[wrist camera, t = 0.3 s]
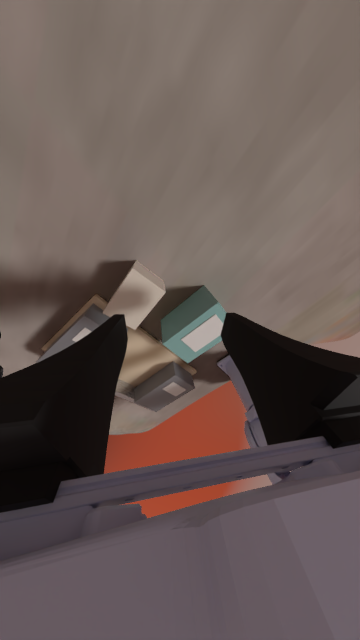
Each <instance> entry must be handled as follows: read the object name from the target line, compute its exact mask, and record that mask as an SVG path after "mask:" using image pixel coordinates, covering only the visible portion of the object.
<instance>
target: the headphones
mask: <svg viewBox="0 0 360 640" xmlns="http://www.w3.org/2000/svg"><path fill="white" fill-rule="evenodd" d="M0 338H1V333H0ZM2 375H3V368H2V367H1V366H0V378H2Z"/></svg>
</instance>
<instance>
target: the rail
mask: <svg viewBox="0 0 360 640" xmlns="http://www.w3.org/2000/svg"><path fill="white" fill-rule="evenodd" d="M49 347H50V346H49ZM49 347H48V348H49ZM48 348H47V349H48ZM47 349H46V350H47ZM46 350H45V351H46ZM43 354H44V353H43ZM43 354H42V355H43ZM42 355H41V356H42ZM41 356H40V357H41ZM40 357H39V358H40ZM37 361H38V360H37ZM37 361H36V363H38V362H37ZM135 390H136V387H135V386H133V385H131V384H129V383H127V382H124V381H122V380H120V379H118V382H117V386H116V391H115V396H118V397H120V398H123V399H125V400H127V401H130V402H132V403H134V399H135ZM135 404H136V403H135ZM137 405H139V404H137ZM139 406H141V405H139ZM142 407H143V406H142ZM144 408H146V407H144ZM147 409H148V408H147ZM149 410H151V409H149ZM151 411H153V410H151Z"/></svg>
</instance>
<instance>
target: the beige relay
mask: <svg viewBox="0 0 360 640" xmlns="http://www.w3.org/2000/svg"><path fill="white" fill-rule="evenodd" d="M165 293H166V290H165V285H164V281H163V280H162V279H160V278H159V277H158V276H156V275H155V274H154V273H152V272H151V271H150V270H149V269H147V268H146V267H145V266H143V265H142V264H141V263H139V262H138V261H137V260H136V261H135V263H134V264H133V266H132V267H131V269H130V270H129V272H128V273H127V275H126V276H125V278H124V279H123V281H122V282H121V284H120V285H119V287H118V288H117V290H116V291H115V293H114V294H113V296H112V297H111V299H110V301H109V302H108V304H107V306H106V307H105V309H104V311H103V314H105V315H107V316H109V317H112V316H113V315H114V314H124V315H125V322H126V326H128V327H130V328H132V329H134V330H136V328H137V327H138V326H139V325H140V323H141V322H142V321H143V320H144V318H145V317H146V316H147V315H148V314H149V312H150V311H151V310H152V309H153V307H154V306H155V305H156V304H157V303H158V301H159V300H160V299H161V298H162V296H163V295H164V294H165Z"/></svg>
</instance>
